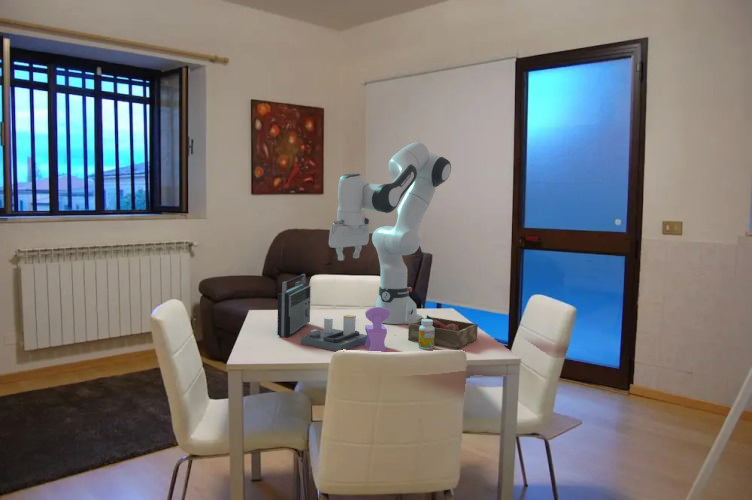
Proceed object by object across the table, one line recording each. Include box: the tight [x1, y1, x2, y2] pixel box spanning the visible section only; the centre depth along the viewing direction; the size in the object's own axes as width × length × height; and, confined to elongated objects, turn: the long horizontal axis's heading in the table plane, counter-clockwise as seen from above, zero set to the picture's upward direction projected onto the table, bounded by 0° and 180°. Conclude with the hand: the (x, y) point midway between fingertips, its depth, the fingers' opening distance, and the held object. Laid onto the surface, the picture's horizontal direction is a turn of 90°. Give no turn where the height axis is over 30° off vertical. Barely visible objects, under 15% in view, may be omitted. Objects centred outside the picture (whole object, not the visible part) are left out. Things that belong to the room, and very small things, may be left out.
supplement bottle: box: [418, 318, 435, 350], centre depth 209 cm, size 5×5×10 cm
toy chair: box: [364, 306, 390, 351], centre depth 205 cm, size 8×9×15 cm
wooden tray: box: [407, 316, 479, 350], centre depth 220 cm, size 16×20×6 cm
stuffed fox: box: [425, 314, 462, 331], centre depth 220 cm, size 8×11×12 cm
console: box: [300, 317, 367, 352], centre depth 211 cm, size 17×17×8 cm
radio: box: [276, 273, 311, 338], centre depth 229 cm, size 24×5×20 cm, turn 168°
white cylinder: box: [342, 314, 357, 336], centre depth 213 cm, size 3×3×7 cm
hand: (348, 259), depth 213 cm, fingers open, 8 cm apart
